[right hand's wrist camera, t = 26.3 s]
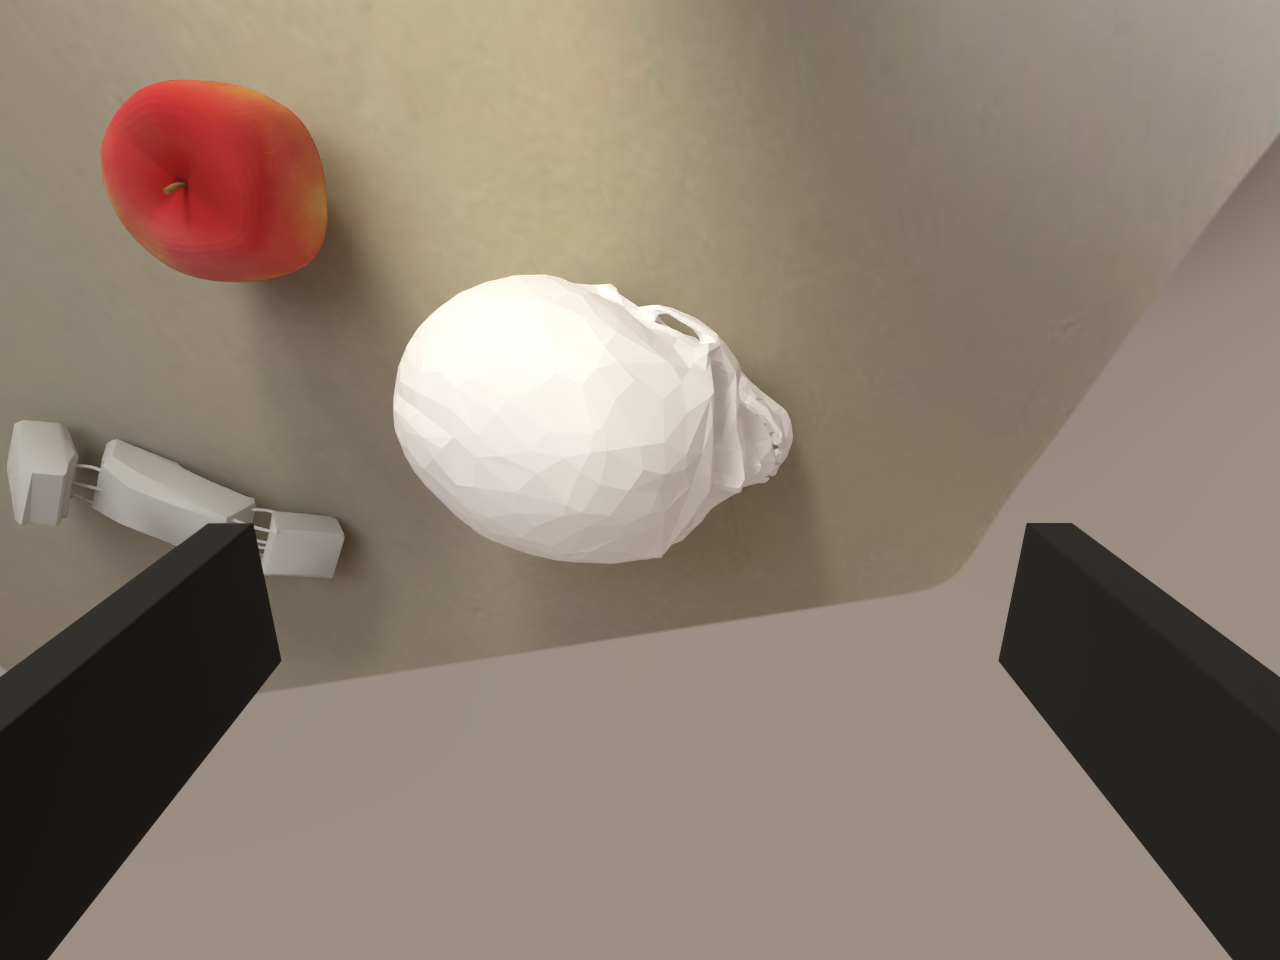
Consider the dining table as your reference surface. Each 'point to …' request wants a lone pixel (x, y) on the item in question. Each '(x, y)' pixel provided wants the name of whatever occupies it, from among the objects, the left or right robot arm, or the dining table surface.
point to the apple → (216, 180)
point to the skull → (579, 419)
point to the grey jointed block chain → (157, 499)
